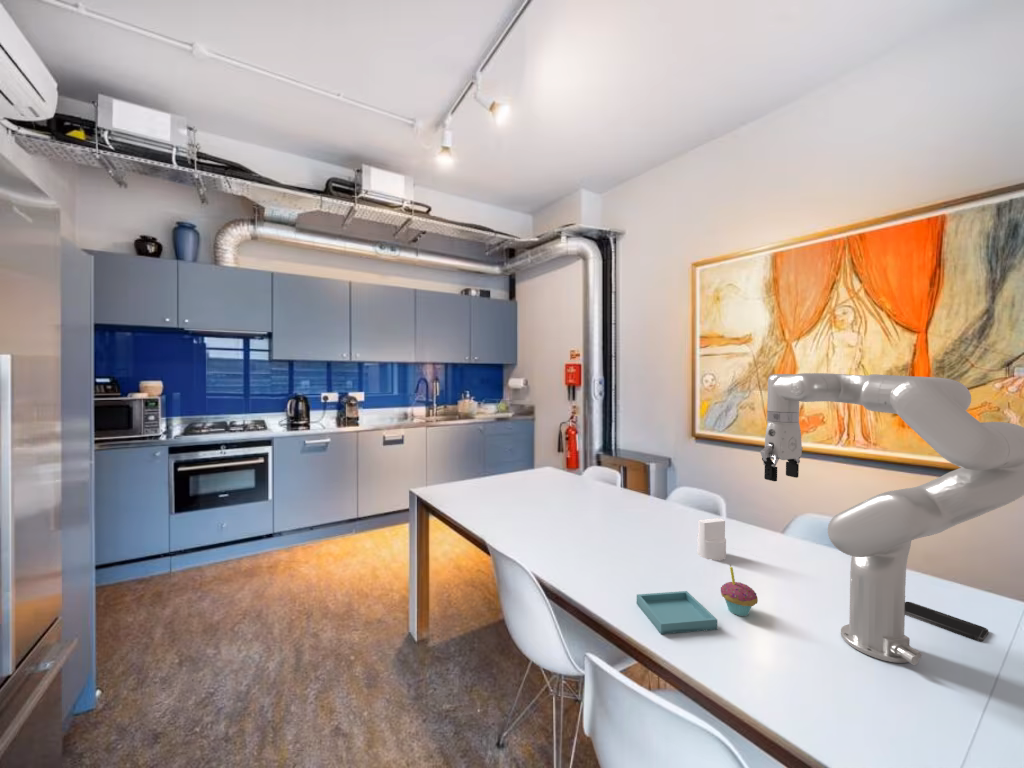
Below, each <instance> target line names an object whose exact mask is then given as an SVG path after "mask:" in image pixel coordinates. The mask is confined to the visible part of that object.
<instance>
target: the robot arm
mask: <svg viewBox="0 0 1024 768" xmlns="http://www.w3.org/2000/svg"><path fill="white" fill-rule="evenodd" d="M800 402H802V403H809V402H811V403H815V402H833V403H841V404H842V403H843V404H852V405H853V404H854V405H859V406H863V408H864V409H866V410H868V411H871V412H878V413H887V414H897V415H898V417H900V418H901V420H902V421H903V422H904V423H905V424H906V425H907V426H908V427H909V428H911V430H913V431H914V433H916V434H917V435H918V436H919V437H920V438H921V439H922V440H923V441H924V442H926V443H927V444H928V445H929V446H930V447H931V448H932V450H934V451H935V452H936V453H937V454H938V455H939V456H941V457H942V458H943V459H944V460H946V461H947V462H949V463H950V464H952V465H955V466H957V467H959V468H957V469H954V470H951V471H948V472H947V473H945V474H943V475H941V476H940V477H937V478H935V479H933V480H930V481H928V482H925V483H923V484H920V485H918V486H915V487H913V486H912V487H909V488H908V487H907V488H900V489H896V490H894V489H893V490H889V491H885V492H881V493H878V494H876V495H874V496H872V497H870V498H867V499H866V500H863V501H861V502H858V503H857V504H855V505H853V506H851V507H849V508H847V509H845V510H842V511H840V512H839V513H837V514H836V515H834V516H832V518H831V519H830V521H829V523H828V526H827V535H828V539H829V541H830V542H831V544H832V545H833V546H834V547H835V548H836V549H838V551H840V552H841V553H843V554H845V555H848V556H849V557H851V558H850V573H849V579H850V580H849V581H850V582H849V623H848V624H844V625H843V626H841V628H840V635H841V638H842V639H843V640H844V641H845V642H846V643H847V644H848V645H849V646H851V647H852V648H853V649H856V650H857V651H859V652H861V653H863V654H865V655H868V656H869V657H872V658H875V659H877V660H881V661H885V662H889V663H895V664H896V663H897V664H898V663H899V664H903V663H904V664H905V663H910V664H912V666H913V665H914V666H916V665H918V664H919V662H920V659H922V656H923V655H922V653H921V651H918V650H917V649H915V648H913V647H911V645H910V642H911V641H910V637H908V636H907V635H905V627H906V626H905V619H906V618H905V616H906V615H905V602H906V583H907V582H906V580H907V579H906V578H907V567H908V565H907V563H908V558H909V554H910V549H911V544H912V541H914V540H917V539H921V538H924V537H930V536H934V535H938V534H940V533H943V532H945V531H946V530H948V529H950V528H952V527H955V526H957V525H959V524H960V525H961V524H962V523H965V522H967V521H970V520H973V519H975V518H978V517H980V516H983V515H985V514H987V513H990V512H991V511H995V510H997V509H999V508H1000V509H1001V507H1004V506H1007V505H1009V504H1011V503H1012V502H1015V501H1016V500H1019V499H1020V498H1022V497H1024V427H1023V426H1021V425H1019V424H1015V423H1010V422H1004V421H987V422H986V421H984V422H980V421H979V420H978V419H977V418H976V417H975V416H973V415H972V414H970V412H968V411H967V410H968V409H969V407H970V405H971V403H972V395H971V392H970V390H969V388H968V387H966V385H964V384H963V383H961V382H960V381H957V380H955V379H951V378H946V377H934V376H912V375H896V374H895V375H893V374H889V375H888V374H869V375H868V374H867V375H862V374H861V375H860V374H843V373H829V372H828V373H826V372H825V373H824V372H823V373H821V372H817V373H816V372H812V373H811V372H809V373H808V372H806V373H805V372H804V373H795V374H793V373H791V374H789V373H774V374H770V375H769V376H768V379H767V404H766V405H767V406H766V407H767V408H766V410H767V411H766V414H767V415H766V423H767V425H766V429H765V437H764V448H762V449H761V450H760V456H761V460H762V462H763V463H762V464H763V465H764V480H767V481H771V482H777V481H778V466H777V464H778V462H779V461H780V460H781V461H786V462H785V476H787V477H790V478H796V479H797V478H799V471H800V470H799V467H800V466H799V465H800V463H801V460H800V459H801V457H802V453H803V452H802V451H803V443H802V432H801V425H800Z"/></svg>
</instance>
